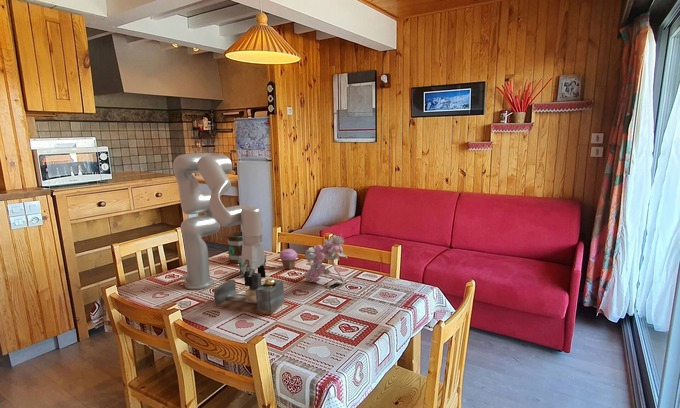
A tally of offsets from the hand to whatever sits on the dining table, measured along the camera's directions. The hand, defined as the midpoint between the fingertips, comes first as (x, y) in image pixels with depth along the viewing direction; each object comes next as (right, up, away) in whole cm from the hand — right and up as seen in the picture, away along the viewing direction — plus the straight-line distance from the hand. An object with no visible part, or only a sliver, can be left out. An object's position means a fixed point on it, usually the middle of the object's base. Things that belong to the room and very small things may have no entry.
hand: (255, 281), depth 151 cm
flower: (+25, -6, +24) cm, 35 cm away
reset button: (+6, -5, -1) cm, 8 cm away
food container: (-11, -4, +38) cm, 39 cm away
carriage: (0, -7, +1) cm, 7 cm away
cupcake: (+7, -3, +46) cm, 47 cm away
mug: (-19, -1, +58) cm, 61 cm away
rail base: (-3, -10, +3) cm, 11 cm away
